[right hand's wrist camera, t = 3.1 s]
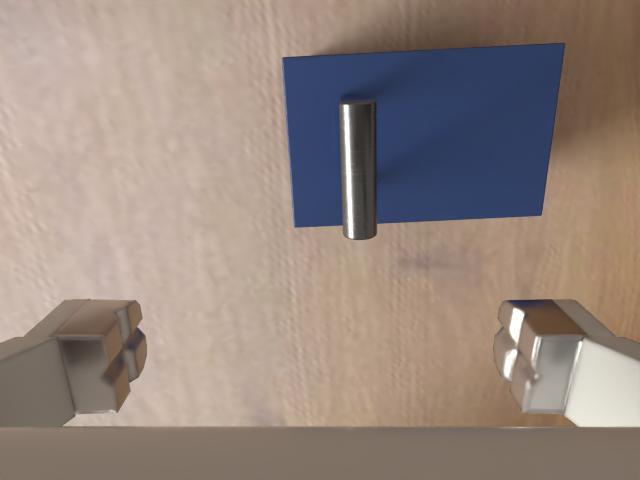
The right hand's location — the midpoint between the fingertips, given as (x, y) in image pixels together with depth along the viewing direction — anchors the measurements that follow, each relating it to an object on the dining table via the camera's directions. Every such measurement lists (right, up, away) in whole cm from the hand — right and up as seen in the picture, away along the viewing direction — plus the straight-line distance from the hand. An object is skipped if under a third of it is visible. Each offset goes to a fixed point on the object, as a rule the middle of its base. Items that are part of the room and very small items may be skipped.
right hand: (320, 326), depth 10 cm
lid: (+6, +8, +16) cm, 19 cm away
